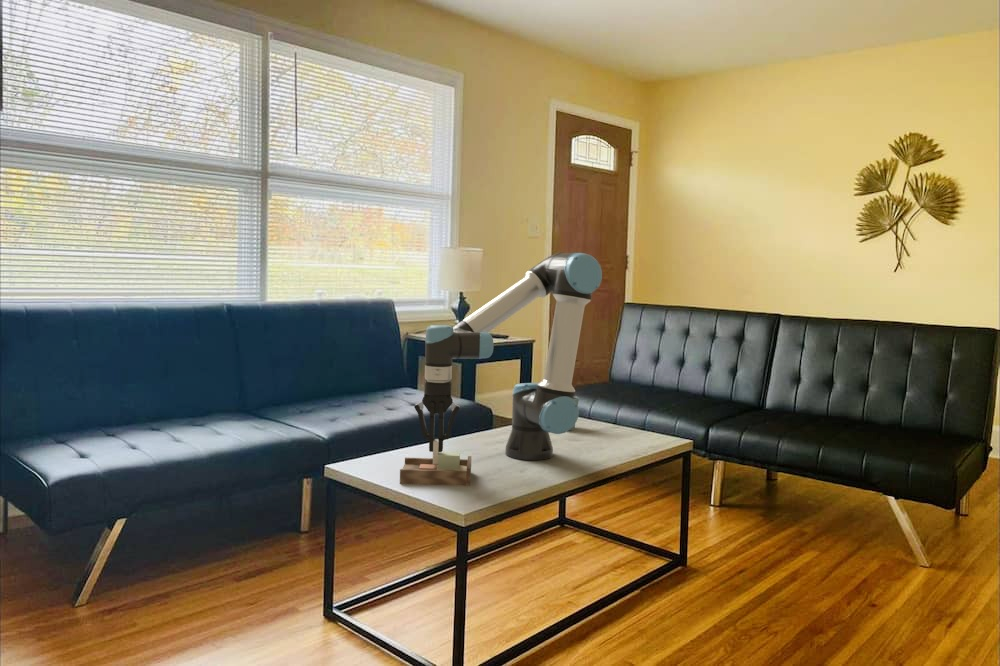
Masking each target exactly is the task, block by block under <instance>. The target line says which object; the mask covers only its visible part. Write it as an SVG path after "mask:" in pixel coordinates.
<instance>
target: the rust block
mask: <svg viewBox="0 0 1000 666" xmlns="http://www.w3.org/2000/svg"><path fill="white" fill-rule="evenodd" d="M419 469H421V470H435V465H434V464H420V467H419Z"/></svg>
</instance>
